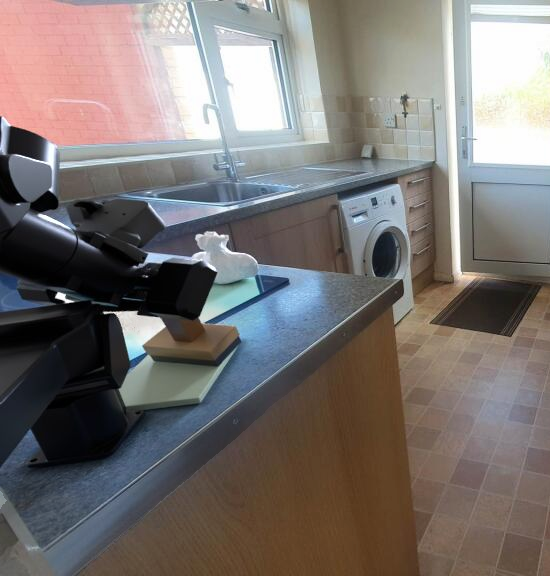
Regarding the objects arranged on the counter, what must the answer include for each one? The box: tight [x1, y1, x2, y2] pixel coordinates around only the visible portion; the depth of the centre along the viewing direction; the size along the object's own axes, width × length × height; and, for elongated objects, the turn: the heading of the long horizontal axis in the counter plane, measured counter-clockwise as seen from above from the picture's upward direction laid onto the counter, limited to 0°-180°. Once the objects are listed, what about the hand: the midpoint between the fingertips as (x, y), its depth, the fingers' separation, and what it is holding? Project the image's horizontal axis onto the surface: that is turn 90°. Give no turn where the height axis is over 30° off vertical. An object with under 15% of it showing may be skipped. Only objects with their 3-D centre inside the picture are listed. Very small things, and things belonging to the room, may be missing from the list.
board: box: [119, 344, 240, 412], centre depth 51 cm, size 14×10×1 cm
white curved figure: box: [190, 230, 260, 285], centre depth 77 cm, size 12×8×11 cm
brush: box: [141, 275, 243, 367], centre depth 51 cm, size 5×9×13 cm, turn 85°
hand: (182, 307), depth 51 cm, fingers closed on brush, 2 cm apart
